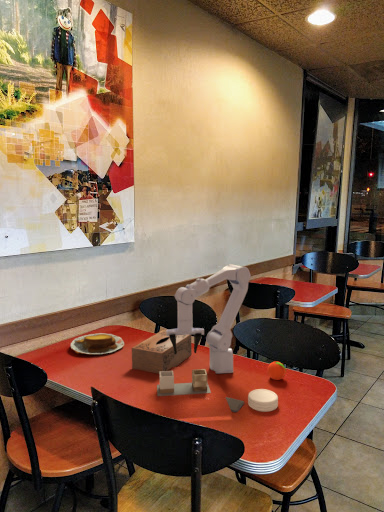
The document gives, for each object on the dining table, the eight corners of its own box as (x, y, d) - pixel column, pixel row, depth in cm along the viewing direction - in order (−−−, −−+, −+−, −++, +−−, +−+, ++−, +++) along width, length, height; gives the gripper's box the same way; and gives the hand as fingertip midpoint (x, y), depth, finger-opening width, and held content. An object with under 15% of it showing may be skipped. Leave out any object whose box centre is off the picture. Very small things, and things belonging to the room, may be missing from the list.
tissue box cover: (162, 377, 160) (162, 353, 158) (132, 371, 166) (131, 347, 165) (191, 355, 182) (191, 333, 181) (164, 350, 189) (163, 329, 188)
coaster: (284, 406, 136) (284, 396, 135) (262, 415, 130) (262, 405, 130) (263, 395, 144) (263, 385, 144) (242, 403, 139) (242, 393, 138)
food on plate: (114, 335, 210) (113, 323, 209) (132, 350, 189) (132, 337, 188) (64, 344, 197) (63, 331, 196) (78, 362, 176) (77, 347, 175)
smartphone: (206, 392, 145) (245, 401, 138) (206, 394, 146) (245, 403, 138) (196, 401, 139) (236, 411, 132) (196, 404, 139) (236, 413, 132)
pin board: (207, 384, 153) (207, 374, 152) (211, 395, 144) (210, 384, 143) (156, 387, 151) (156, 377, 150) (157, 398, 142) (157, 388, 141)
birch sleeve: (205, 384, 150) (205, 368, 150) (207, 390, 145) (207, 374, 145) (192, 385, 150) (192, 369, 149) (193, 391, 145) (193, 375, 144)
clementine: (291, 380, 156) (291, 362, 155) (280, 385, 151) (281, 367, 150) (274, 373, 161) (274, 356, 160) (263, 379, 157) (263, 361, 156)
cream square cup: (173, 386, 149) (173, 370, 148) (174, 392, 144) (173, 376, 143) (159, 386, 149) (159, 371, 148) (160, 393, 144) (159, 377, 143)
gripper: (166, 322, 150) (167, 357, 152) (205, 320, 152) (205, 355, 154) (165, 317, 157) (166, 350, 159) (202, 315, 159) (202, 349, 161)
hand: (185, 352), depth 157 cm, fingers open, 7 cm apart
